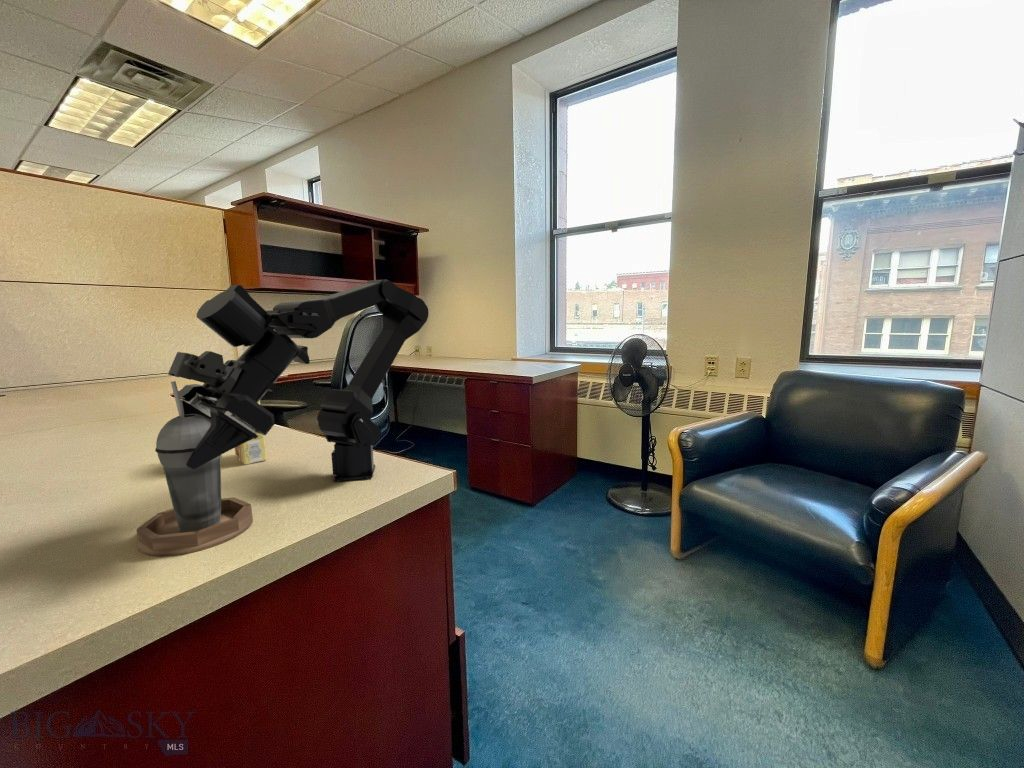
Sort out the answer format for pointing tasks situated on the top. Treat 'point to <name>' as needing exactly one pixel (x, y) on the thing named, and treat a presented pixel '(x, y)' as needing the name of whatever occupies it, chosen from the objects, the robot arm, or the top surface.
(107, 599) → the top surface
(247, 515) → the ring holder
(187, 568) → the top surface
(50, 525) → the top surface
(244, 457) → the candy box
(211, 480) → the beverage cup
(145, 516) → the top surface
